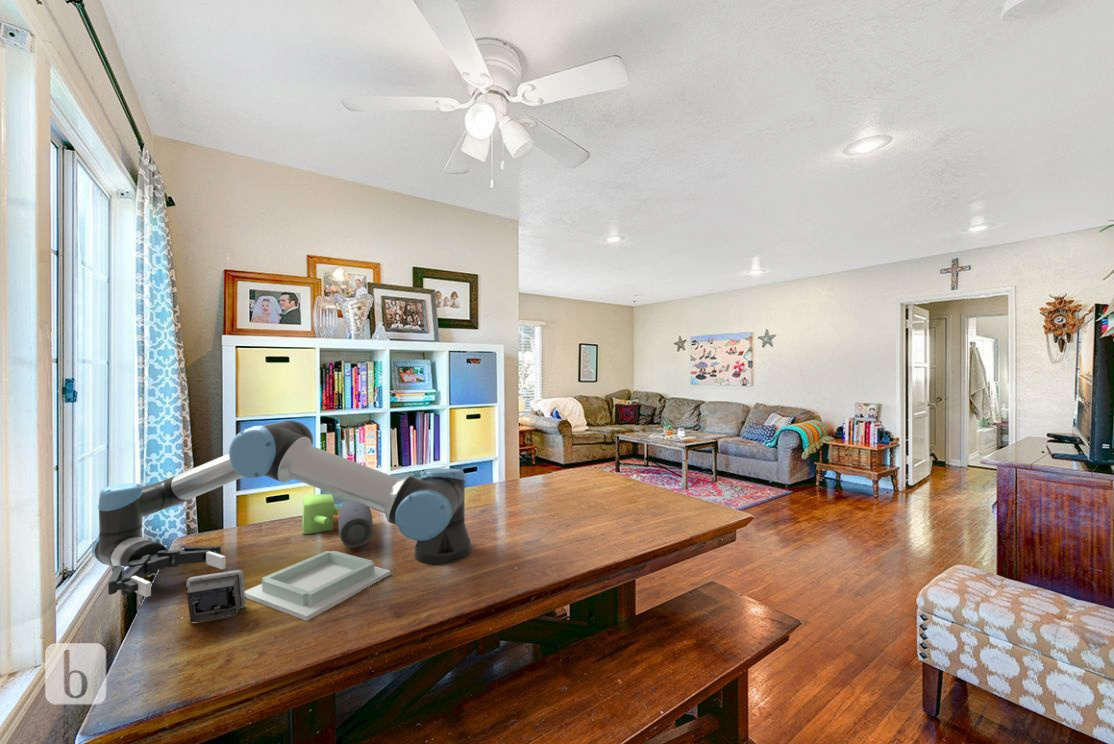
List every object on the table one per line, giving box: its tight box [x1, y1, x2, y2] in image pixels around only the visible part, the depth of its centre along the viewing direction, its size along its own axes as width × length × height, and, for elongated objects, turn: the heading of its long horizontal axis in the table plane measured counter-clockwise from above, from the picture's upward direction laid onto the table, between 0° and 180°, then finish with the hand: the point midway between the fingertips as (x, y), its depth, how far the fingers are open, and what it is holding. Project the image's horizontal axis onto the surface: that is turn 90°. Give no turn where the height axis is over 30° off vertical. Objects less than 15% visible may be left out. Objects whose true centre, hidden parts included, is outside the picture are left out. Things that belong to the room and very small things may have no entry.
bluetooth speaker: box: [337, 499, 374, 548], centre depth 132 cm, size 23×9×10 cm, turn 26°
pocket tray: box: [245, 550, 392, 622], centre depth 104 cm, size 22×22×4 cm
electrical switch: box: [186, 569, 247, 623], centre depth 90 cm, size 9×5×9 cm, turn 113°
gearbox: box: [301, 493, 339, 535], centre depth 141 cm, size 18×10×10 cm, turn 30°
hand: (188, 575), depth 95 cm, fingers open, 13 cm apart
